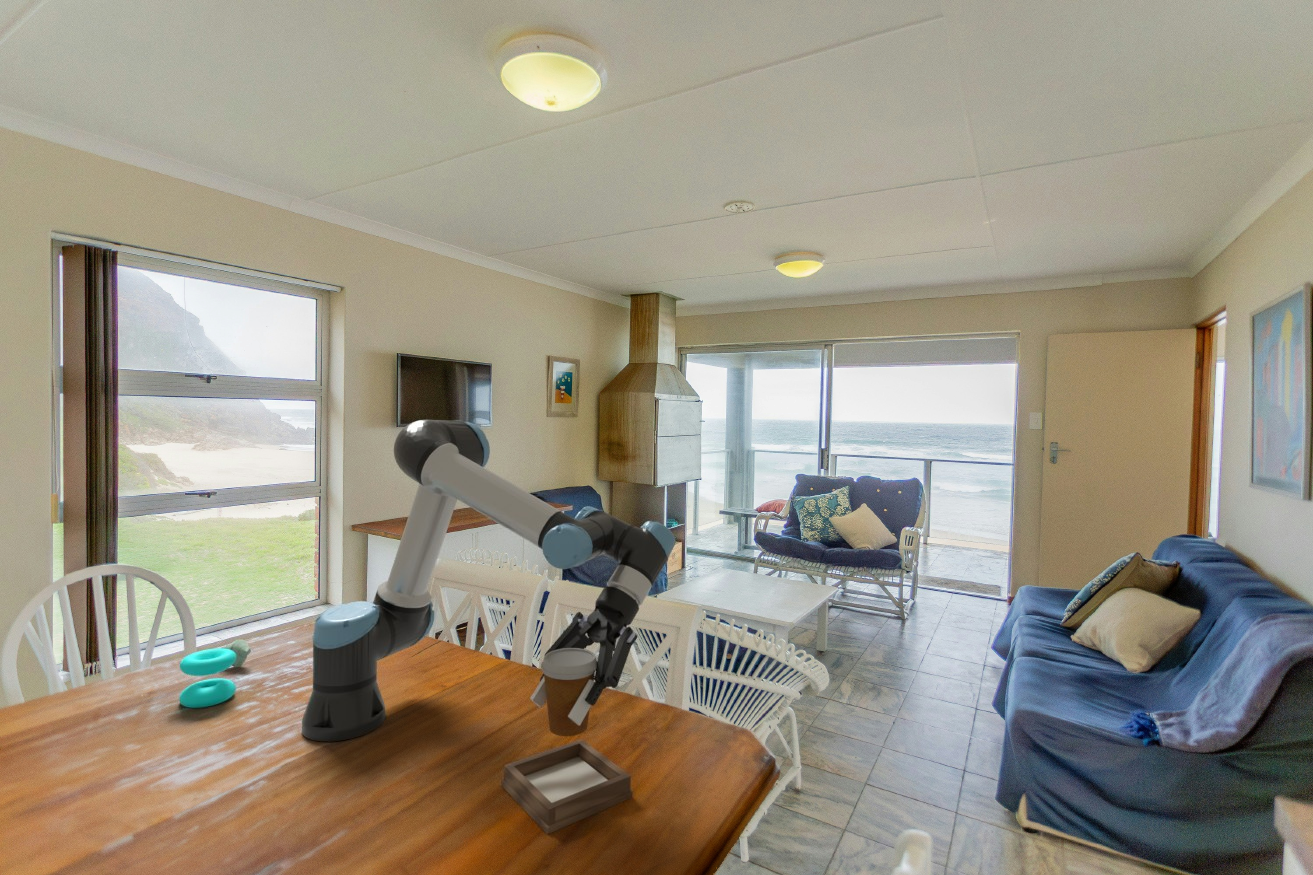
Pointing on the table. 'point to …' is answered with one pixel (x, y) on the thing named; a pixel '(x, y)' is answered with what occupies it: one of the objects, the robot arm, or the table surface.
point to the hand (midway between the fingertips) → (554, 711)
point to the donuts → (208, 689)
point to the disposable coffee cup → (566, 686)
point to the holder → (565, 784)
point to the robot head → (239, 651)
